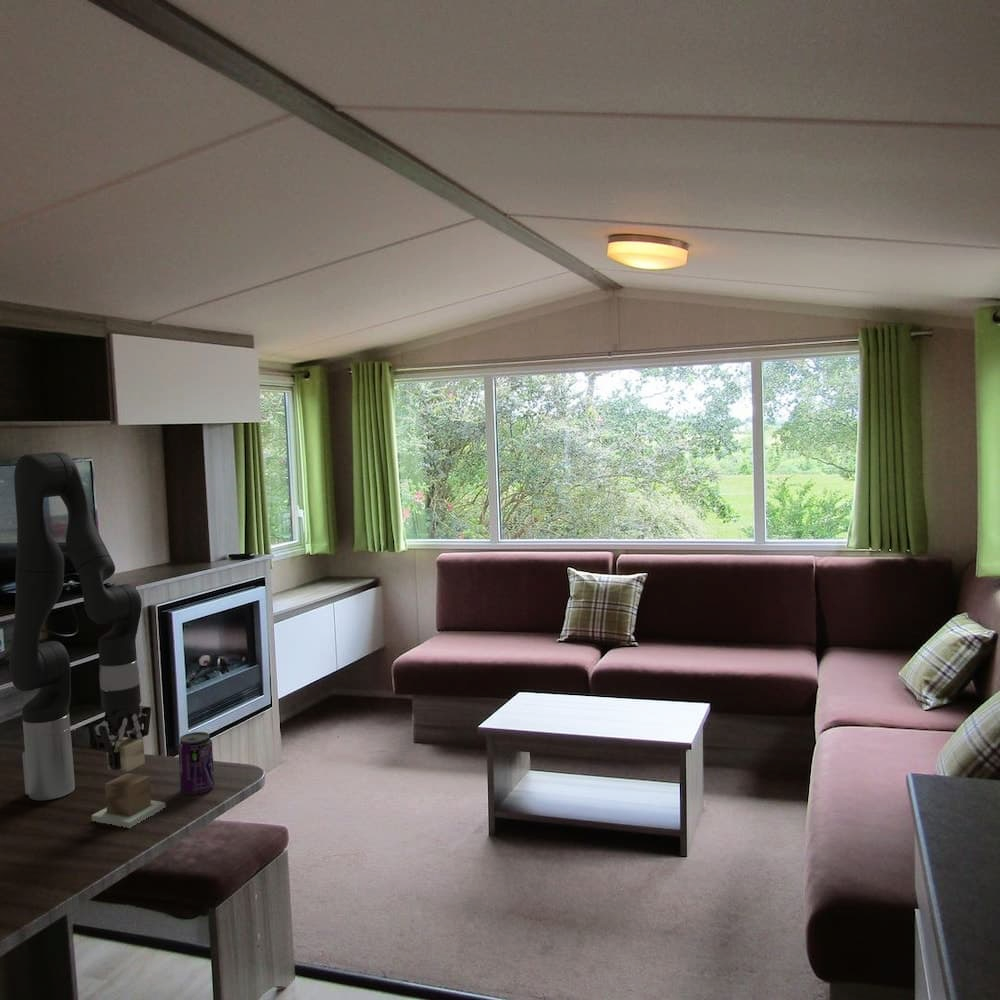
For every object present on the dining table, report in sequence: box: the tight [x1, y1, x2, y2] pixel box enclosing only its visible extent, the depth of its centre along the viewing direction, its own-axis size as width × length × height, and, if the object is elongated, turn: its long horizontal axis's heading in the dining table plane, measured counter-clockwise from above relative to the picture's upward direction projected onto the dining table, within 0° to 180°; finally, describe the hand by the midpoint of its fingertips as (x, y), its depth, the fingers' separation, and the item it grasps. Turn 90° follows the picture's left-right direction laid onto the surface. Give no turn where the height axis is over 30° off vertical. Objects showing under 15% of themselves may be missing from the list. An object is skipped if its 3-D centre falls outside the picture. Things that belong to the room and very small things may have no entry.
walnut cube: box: [104, 772, 152, 816], centre depth 195 cm, size 6×6×6 cm
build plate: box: [91, 799, 166, 829], centre depth 195 cm, size 10×10×1 cm
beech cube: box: [106, 736, 146, 773], centre depth 194 cm, size 5×5×5 cm
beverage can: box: [177, 731, 216, 795], centre depth 206 cm, size 7×7×12 cm
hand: (125, 763), depth 194 cm, fingers closed on beech cube, 5 cm apart
